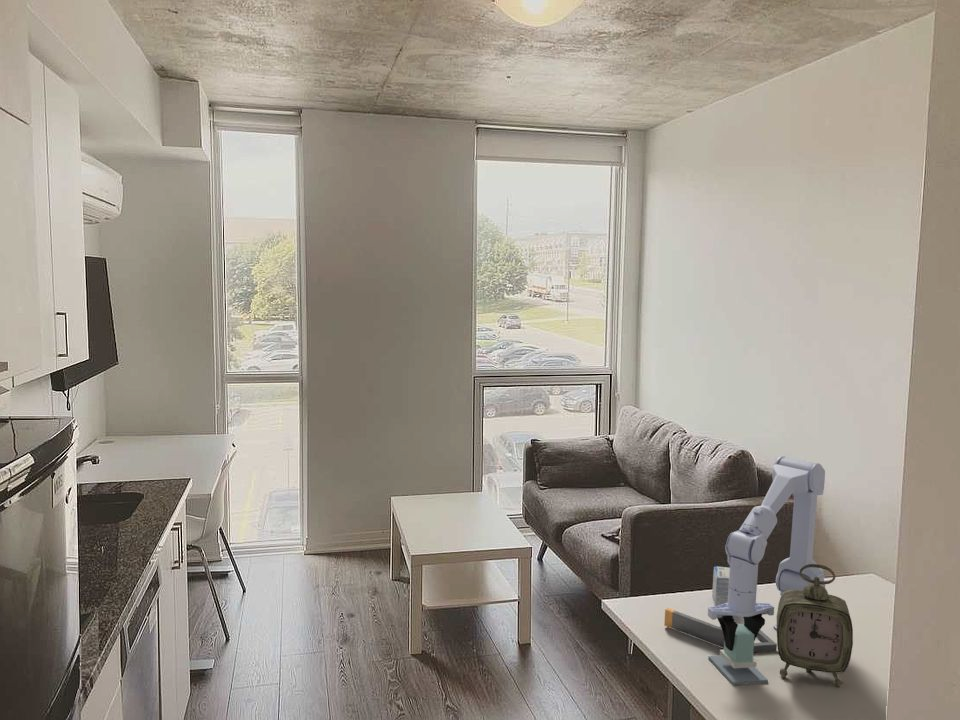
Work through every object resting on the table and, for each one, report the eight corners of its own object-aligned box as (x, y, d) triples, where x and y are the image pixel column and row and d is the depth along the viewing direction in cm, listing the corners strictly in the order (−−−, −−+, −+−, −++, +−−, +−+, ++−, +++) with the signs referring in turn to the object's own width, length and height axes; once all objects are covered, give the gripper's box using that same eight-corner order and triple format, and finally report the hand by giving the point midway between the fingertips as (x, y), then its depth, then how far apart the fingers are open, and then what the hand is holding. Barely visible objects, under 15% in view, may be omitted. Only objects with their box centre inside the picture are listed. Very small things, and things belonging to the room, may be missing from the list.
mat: (741, 656, 170) (741, 653, 170) (767, 682, 159) (767, 679, 159) (708, 658, 169) (708, 656, 169) (732, 685, 158) (732, 682, 158)
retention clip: (667, 624, 184) (668, 605, 184) (740, 652, 171) (741, 632, 171) (664, 626, 183) (665, 607, 183) (737, 654, 170) (738, 634, 170)
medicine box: (732, 611, 193) (734, 578, 192) (714, 609, 194) (716, 577, 193) (729, 598, 201) (730, 567, 200) (711, 596, 202) (713, 565, 201)
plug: (741, 652, 167) (743, 622, 166) (756, 666, 161) (758, 635, 160) (719, 654, 166) (721, 623, 166) (734, 668, 160) (736, 637, 159)
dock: (753, 630, 183) (754, 624, 183) (776, 650, 173) (776, 644, 173) (719, 632, 181) (719, 626, 181) (740, 653, 172) (740, 646, 171)
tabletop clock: (773, 678, 161) (781, 566, 158) (773, 659, 169) (780, 551, 166) (848, 693, 156) (858, 577, 153) (844, 672, 164) (853, 561, 162)
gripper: (762, 578, 167) (758, 636, 169) (702, 581, 164) (699, 641, 166) (781, 591, 160) (777, 651, 162) (718, 595, 158) (714, 657, 159)
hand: (738, 647), depth 163 cm, fingers closed on plug, 4 cm apart
